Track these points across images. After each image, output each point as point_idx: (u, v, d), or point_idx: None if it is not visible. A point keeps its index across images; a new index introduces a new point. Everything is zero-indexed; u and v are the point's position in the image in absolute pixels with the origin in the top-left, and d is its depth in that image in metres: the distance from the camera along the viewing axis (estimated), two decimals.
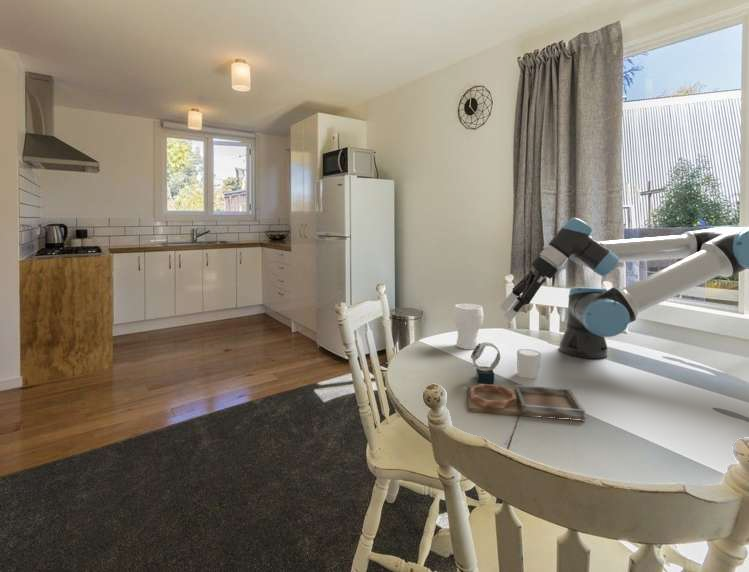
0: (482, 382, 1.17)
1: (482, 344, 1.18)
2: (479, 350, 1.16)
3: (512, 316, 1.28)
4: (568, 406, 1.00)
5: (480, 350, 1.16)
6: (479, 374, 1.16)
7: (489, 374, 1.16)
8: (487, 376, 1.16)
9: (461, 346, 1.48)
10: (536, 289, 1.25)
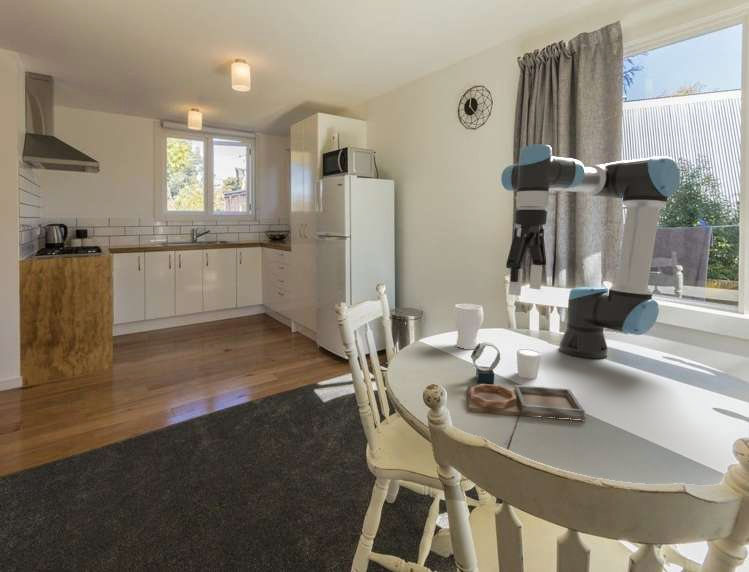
0: (482, 382, 1.17)
1: (482, 344, 1.18)
2: (479, 350, 1.16)
3: (517, 289, 1.02)
4: (568, 406, 1.00)
5: (480, 350, 1.16)
6: (479, 374, 1.16)
7: (489, 374, 1.16)
8: (487, 376, 1.16)
9: (461, 346, 1.48)
10: (519, 245, 1.00)
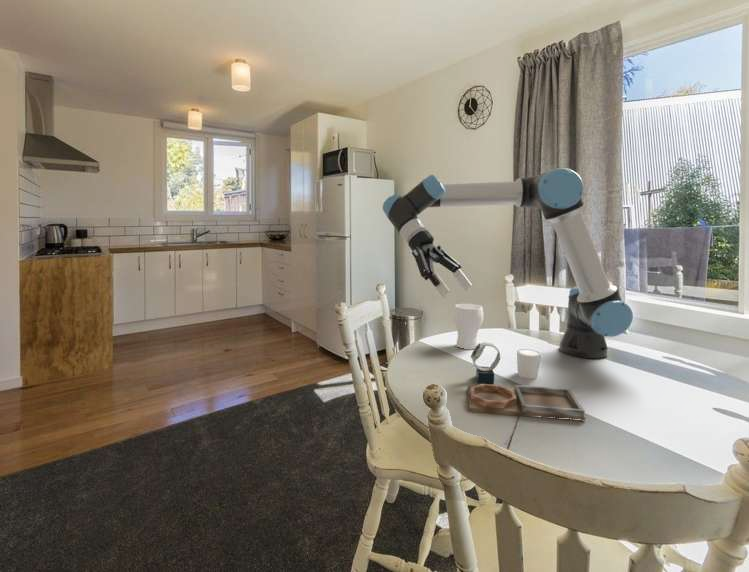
0: (482, 382, 1.17)
1: (482, 344, 1.18)
2: (479, 350, 1.16)
3: (444, 288, 1.16)
4: (568, 406, 1.00)
5: (480, 350, 1.16)
6: (479, 374, 1.16)
7: (489, 374, 1.16)
8: (487, 376, 1.16)
9: (461, 346, 1.48)
10: (420, 258, 1.19)
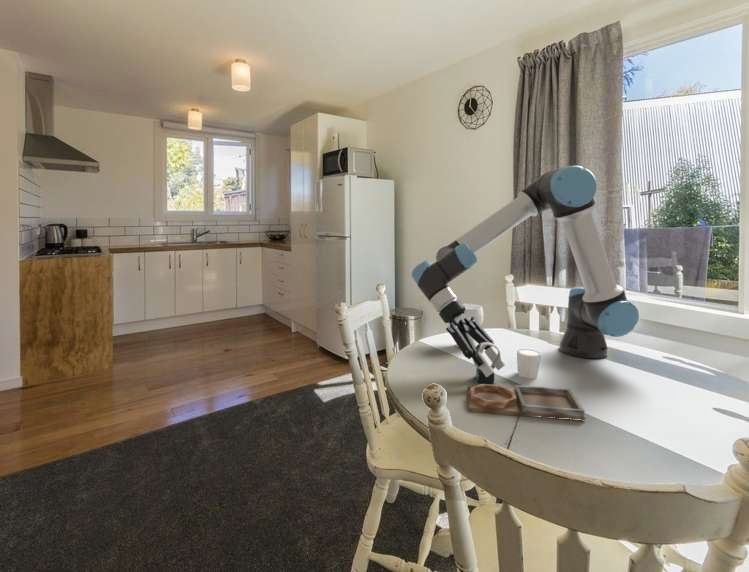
0: (482, 381, 1.17)
1: (483, 343, 1.18)
2: (479, 349, 1.16)
3: (488, 368, 1.13)
4: (568, 406, 1.00)
5: (480, 349, 1.16)
6: (479, 373, 1.16)
7: None
8: None
9: None
10: (459, 337, 1.15)
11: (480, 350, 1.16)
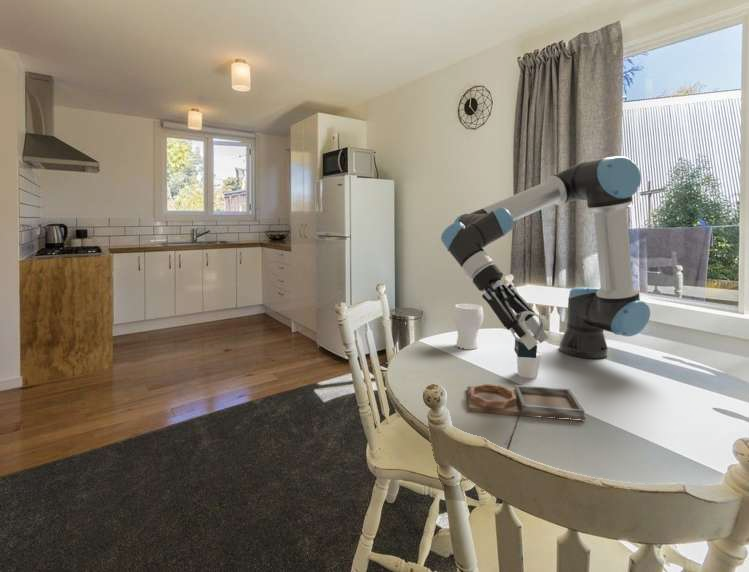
0: (523, 355, 1.03)
1: (523, 313, 1.04)
2: (520, 319, 1.02)
3: (531, 340, 0.99)
4: (568, 406, 1.00)
5: (521, 319, 1.02)
6: (520, 346, 1.03)
7: None
8: None
9: (461, 346, 1.48)
10: (497, 304, 1.02)
11: (521, 319, 1.02)
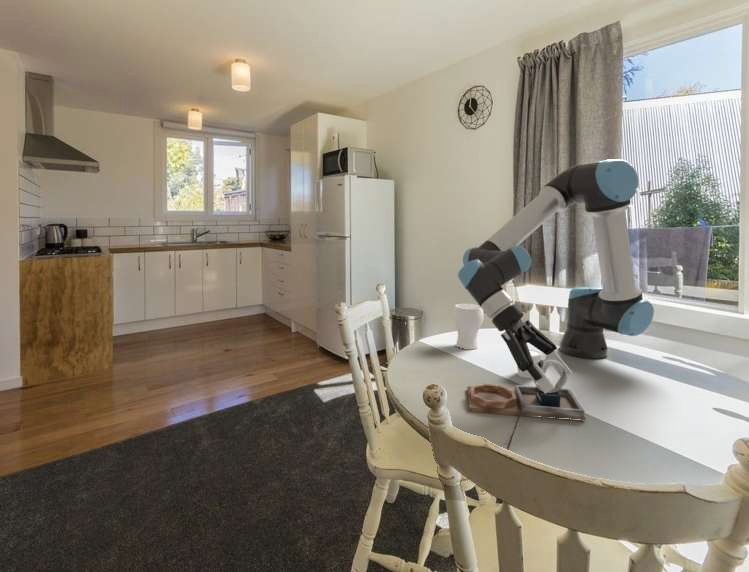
0: None
1: (545, 361, 1.01)
2: (543, 368, 0.99)
3: (548, 383, 0.95)
4: (568, 406, 1.00)
5: (544, 368, 0.99)
6: (542, 396, 0.99)
7: (554, 396, 0.99)
8: (552, 399, 0.99)
9: (461, 346, 1.48)
10: (515, 345, 0.98)
11: (543, 369, 0.99)
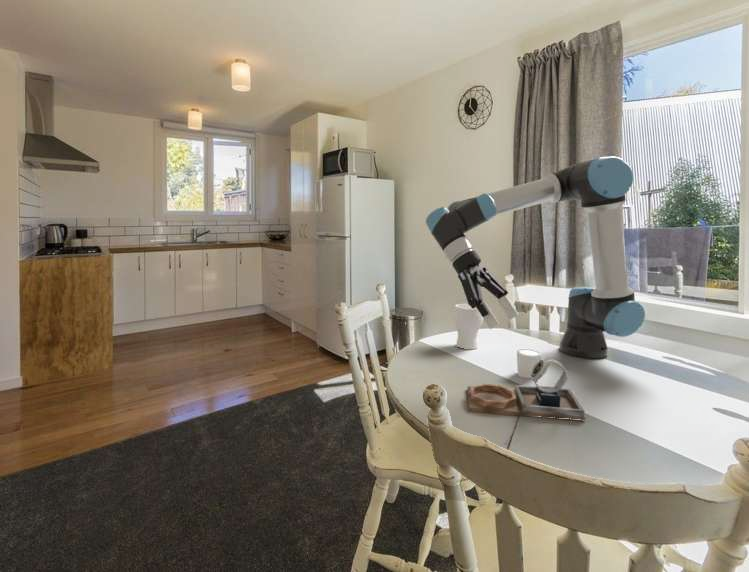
0: None
1: (545, 361, 1.01)
2: (543, 368, 0.99)
3: (493, 319, 1.05)
4: (568, 406, 1.00)
5: (544, 368, 0.99)
6: (542, 396, 0.99)
7: (554, 396, 0.99)
8: (552, 399, 0.99)
9: (461, 346, 1.48)
10: (468, 284, 1.07)
11: (543, 369, 0.99)
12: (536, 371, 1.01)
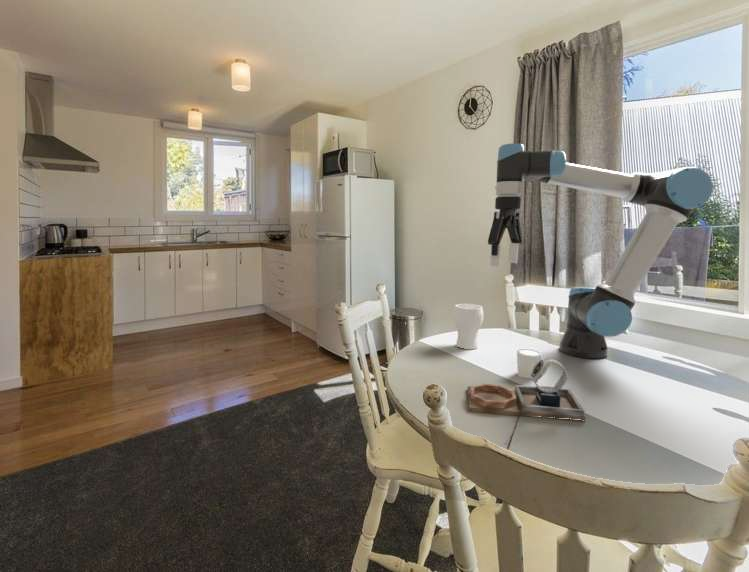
0: None
1: (545, 361, 1.01)
2: (543, 368, 0.99)
3: (497, 261, 1.25)
4: (568, 406, 1.00)
5: (544, 368, 0.99)
6: (542, 396, 0.99)
7: (554, 396, 0.99)
8: (552, 399, 0.99)
9: (461, 346, 1.48)
10: (497, 225, 1.23)
11: (543, 369, 0.99)
12: (536, 371, 1.01)
